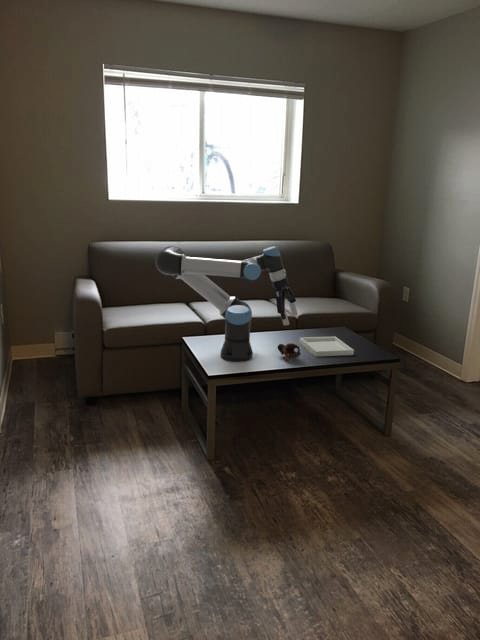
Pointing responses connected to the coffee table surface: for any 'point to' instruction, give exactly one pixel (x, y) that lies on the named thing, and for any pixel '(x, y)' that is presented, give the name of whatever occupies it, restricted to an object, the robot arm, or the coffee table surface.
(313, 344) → the parts tray
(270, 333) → the coffee table surface
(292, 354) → the pottery mug
